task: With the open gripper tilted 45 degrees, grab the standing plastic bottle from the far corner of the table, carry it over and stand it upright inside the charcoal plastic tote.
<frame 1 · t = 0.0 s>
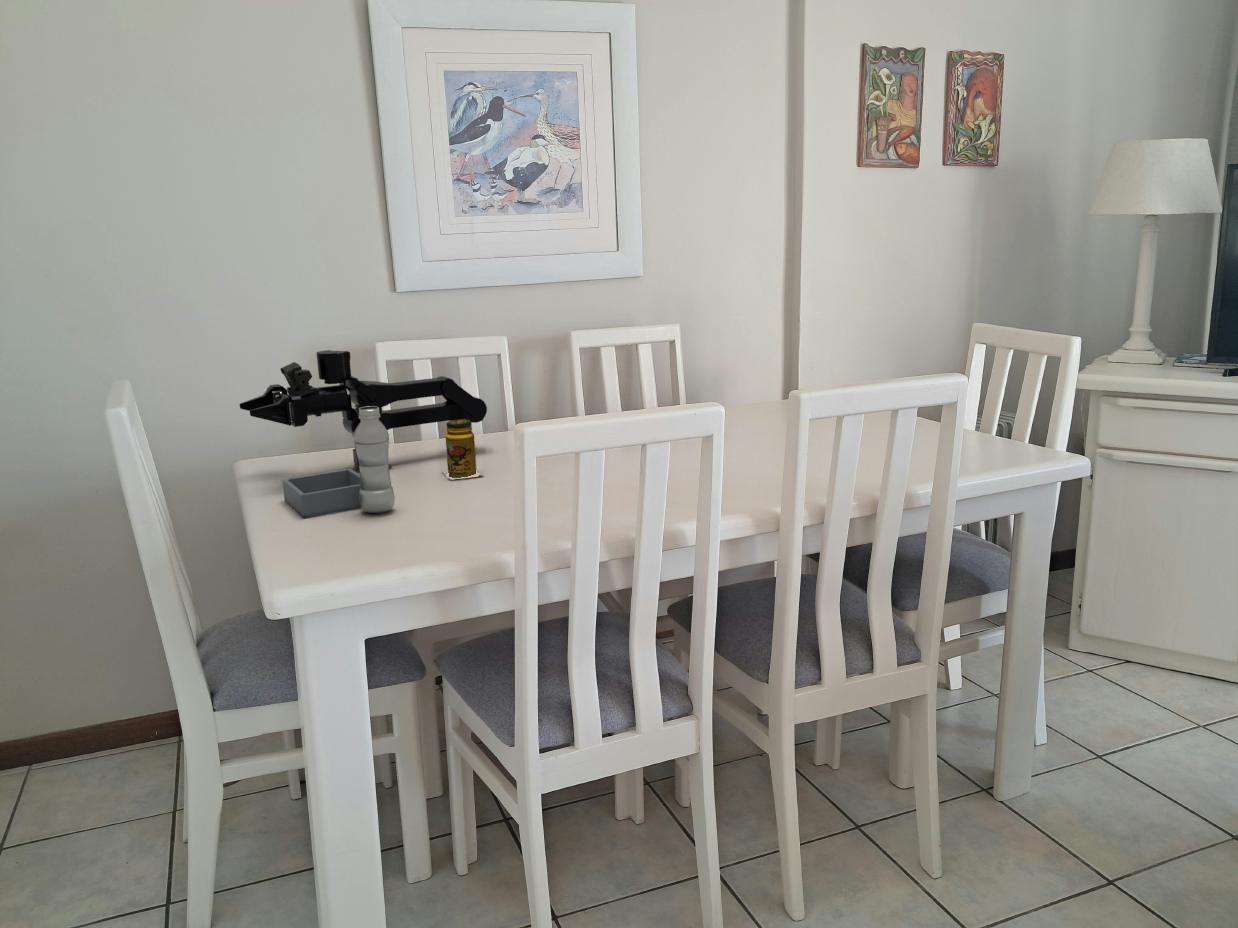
hand: (244, 409, 189), 17 cm above the table, tool horizontal, fingers open, 9 cm apart
tote: (329, 503, 182), on the table
plastic bottle: (378, 512, 176), on the table
condiment: (462, 475, 201), on the table
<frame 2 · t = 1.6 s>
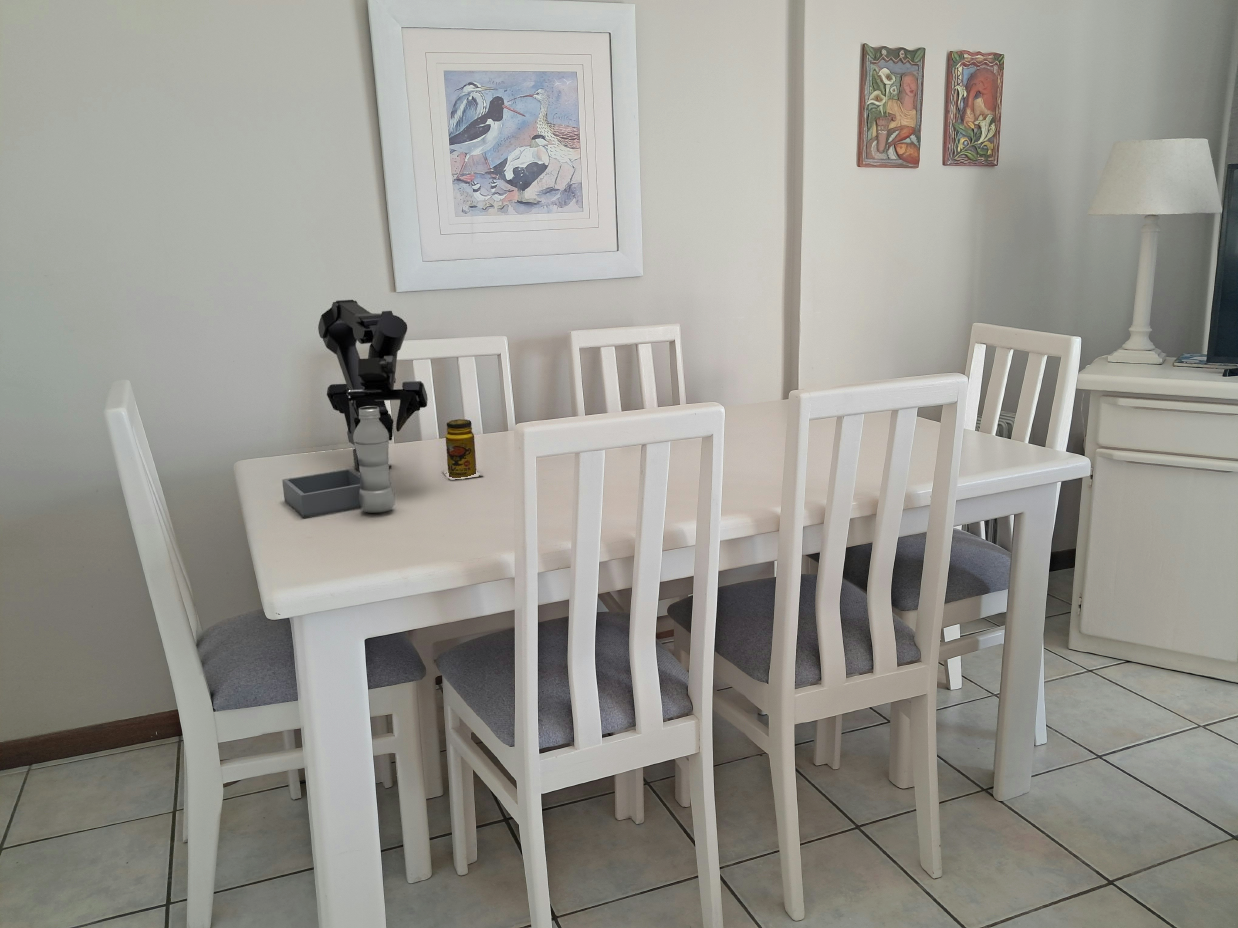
hand: (373, 431, 180), 14 cm above the table, tool tilted 45°, fingers open, 9 cm apart
nothing on the table moved.
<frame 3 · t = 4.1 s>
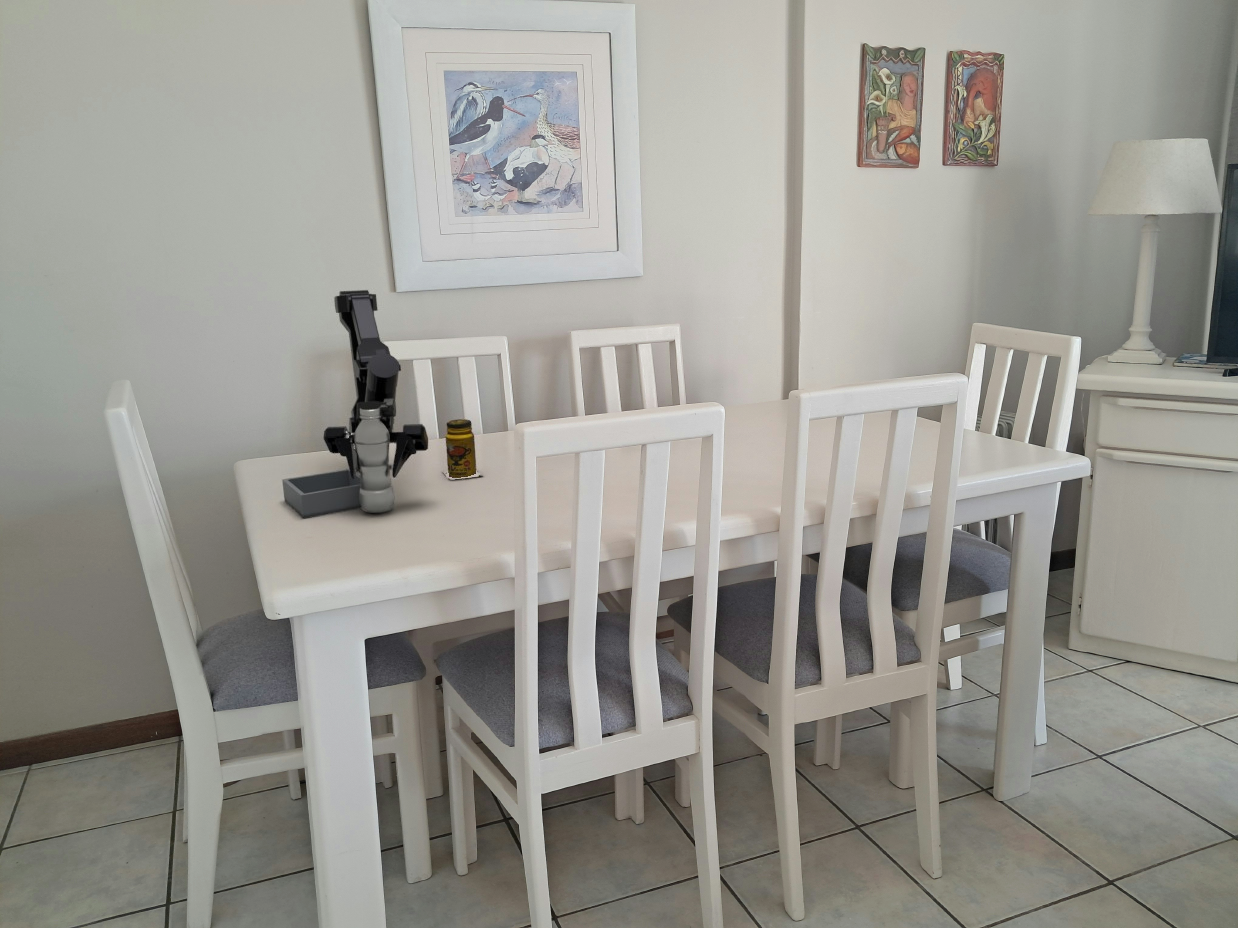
hand: (373, 477, 173), 7 cm above the table, tool tilted 45°, fingers open, 7 cm apart
plastic bottle: (378, 512, 176), on the table, touching gripper
everything else where it was.
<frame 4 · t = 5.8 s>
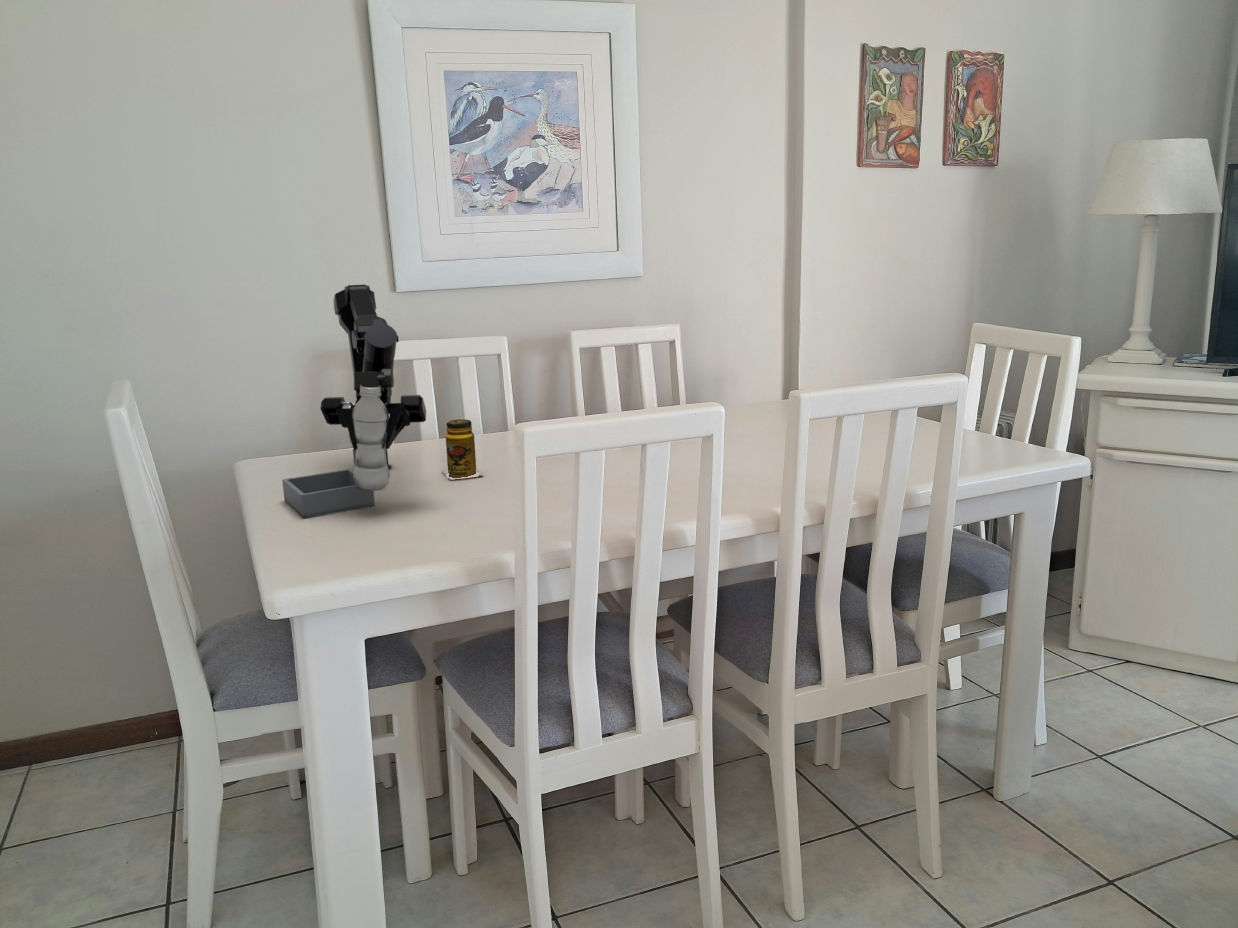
hand: (370, 448, 171), 13 cm above the table, tool tilted 45°, fingers closed on plastic bottle, 6 cm apart
plastic bottle: (371, 490, 175), point 4 cm above the table, touching gripper
everything else where it was.
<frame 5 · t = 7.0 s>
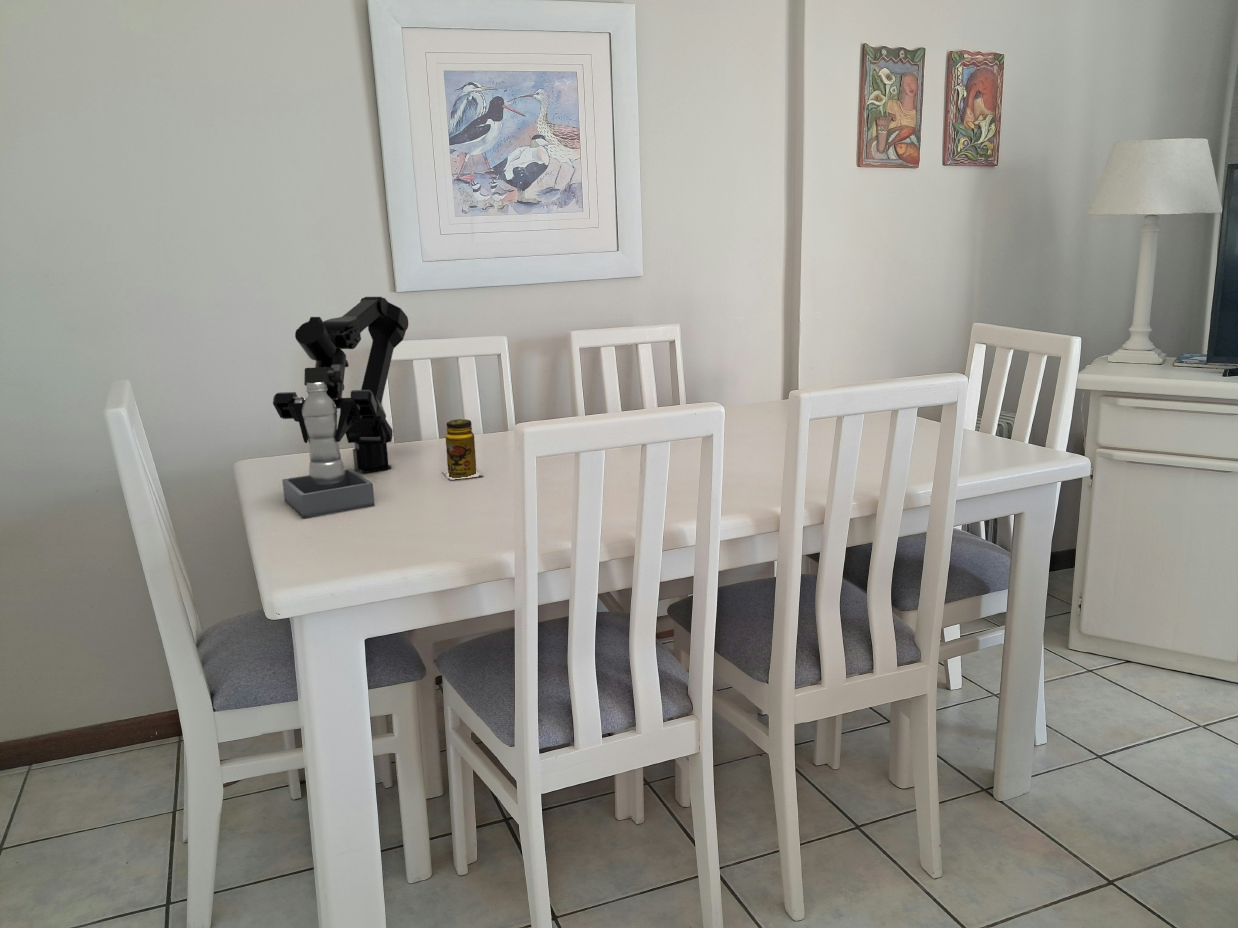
hand: (321, 441, 177), 13 cm above the table, tool tilted 45°, fingers closed on plastic bottle, 6 cm apart
plastic bottle: (328, 485, 180), point 4 cm above the table, touching gripper
everything else where it was.
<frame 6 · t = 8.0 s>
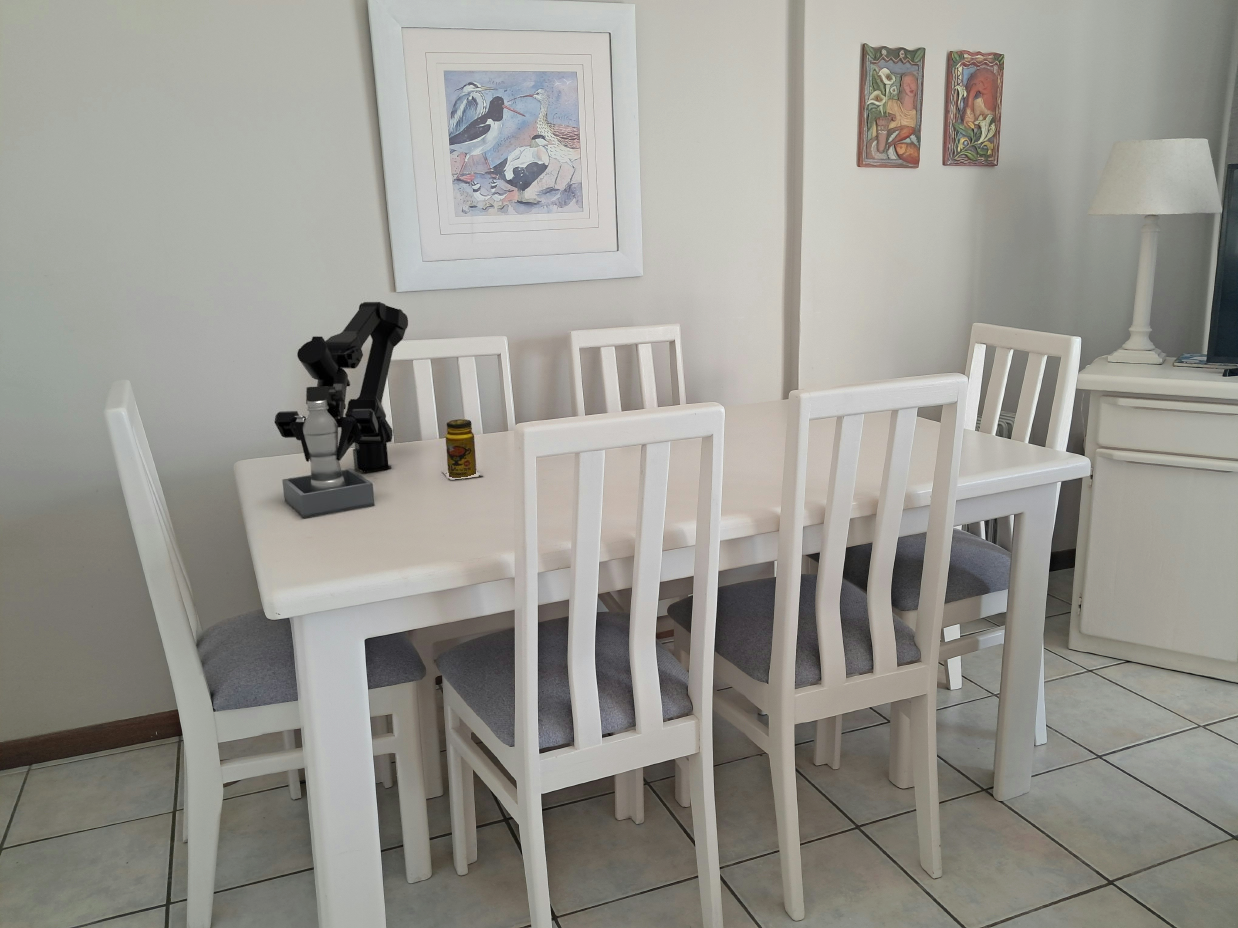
hand: (322, 460, 178), 9 cm above the table, tool tilted 45°, fingers closed on plastic bottle, 5 cm apart
plastic bottle: (330, 502, 180), resting on tote, touching gripper
everything else where it was.
when the fingers open (9 cm above the table, at t = 8.3 s): plastic bottle stays where it is, resting on tote.
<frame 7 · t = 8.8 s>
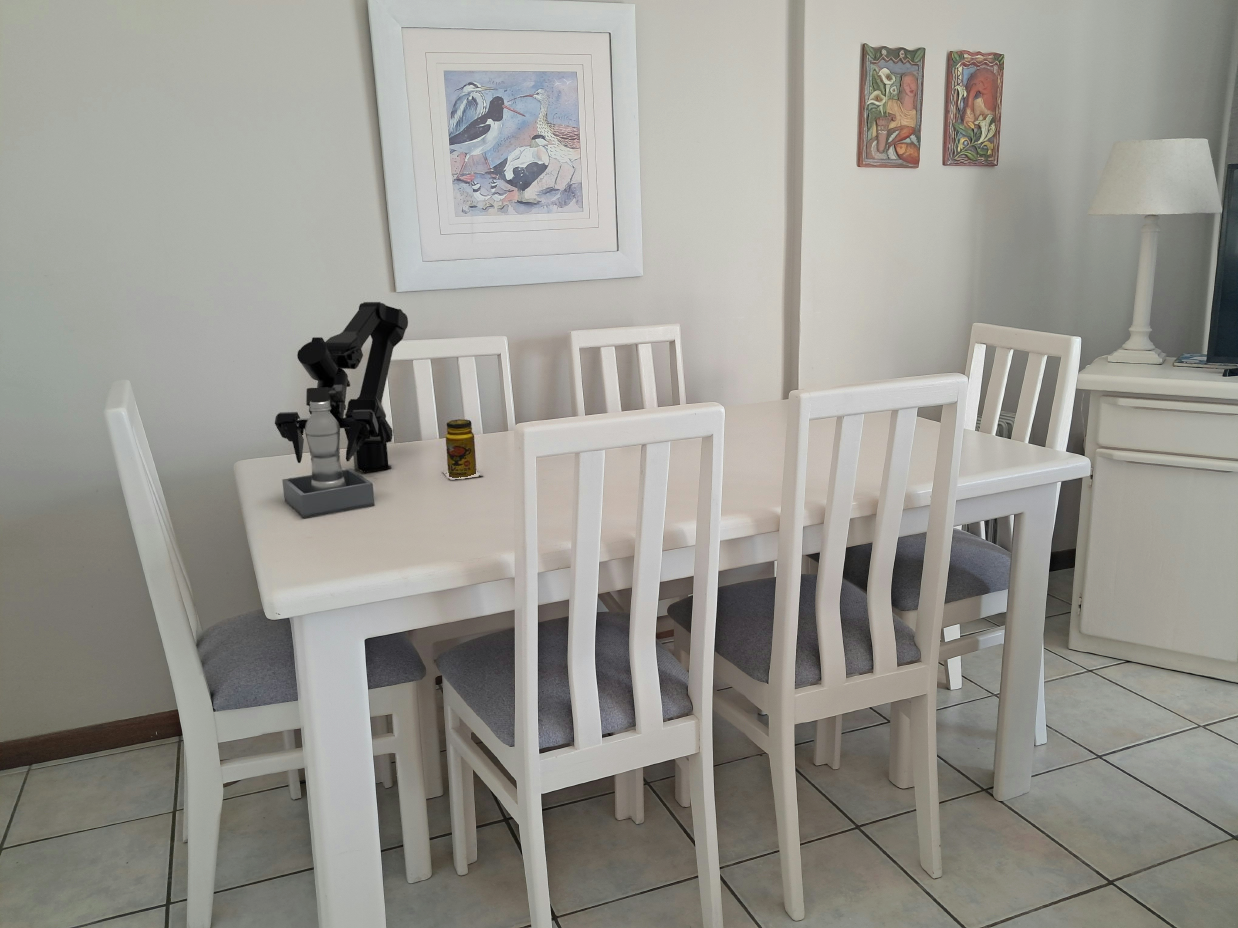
hand: (322, 461, 178), 9 cm above the table, tool tilted 45°, fingers open, 9 cm apart
plastic bottle: (330, 502, 181), resting on tote
everything else where it was.
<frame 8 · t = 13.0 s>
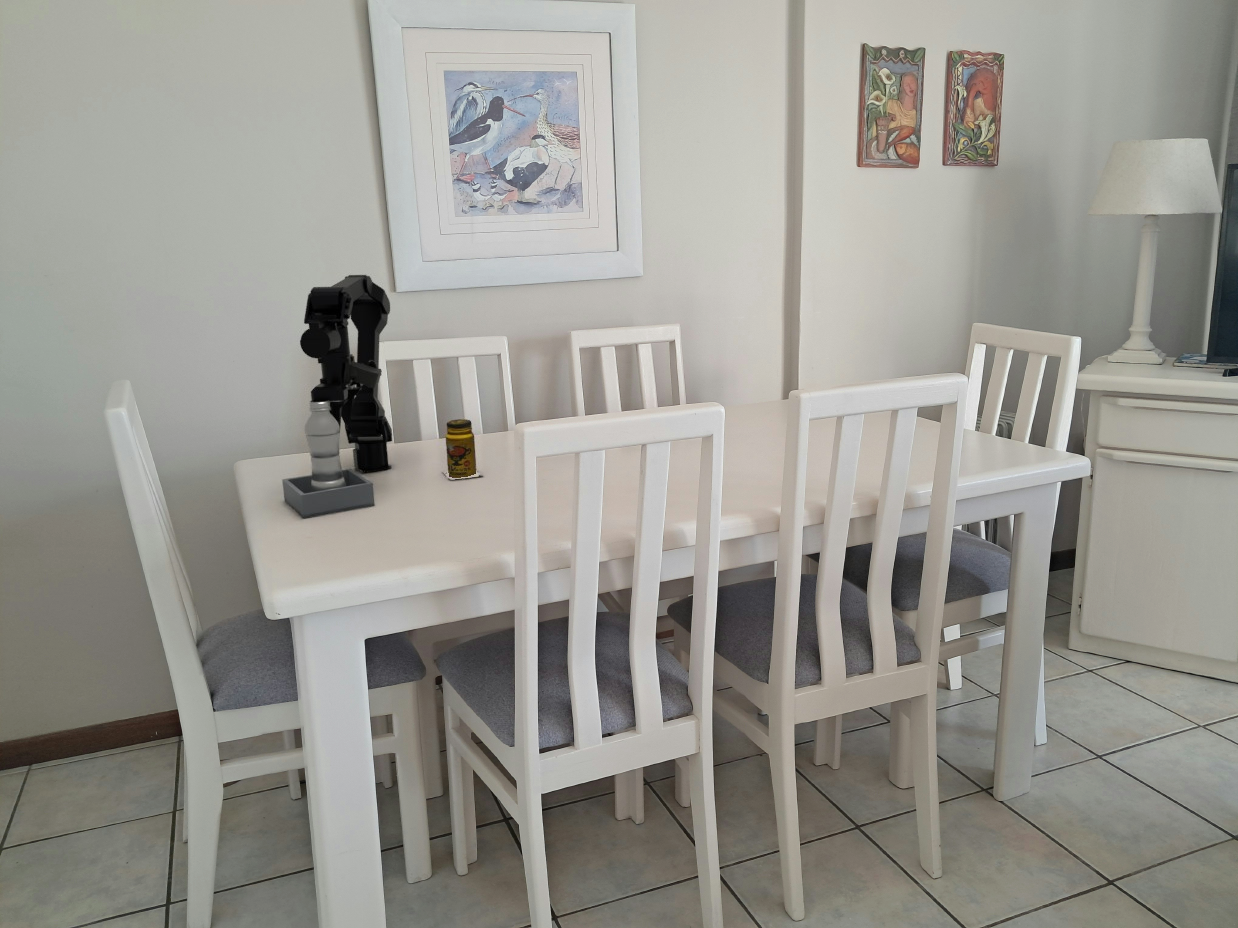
hand: (342, 428, 187), 13 cm above the table, tool pointing down, fingers open, 9 cm apart
nothing on the table moved.
at the end: plastic bottle inside the target area on the tote (1.1 cm from its centre), point 0.4 cm above the tote's base; plastic bottle tilted 0°; the gripper is holding nothing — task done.
